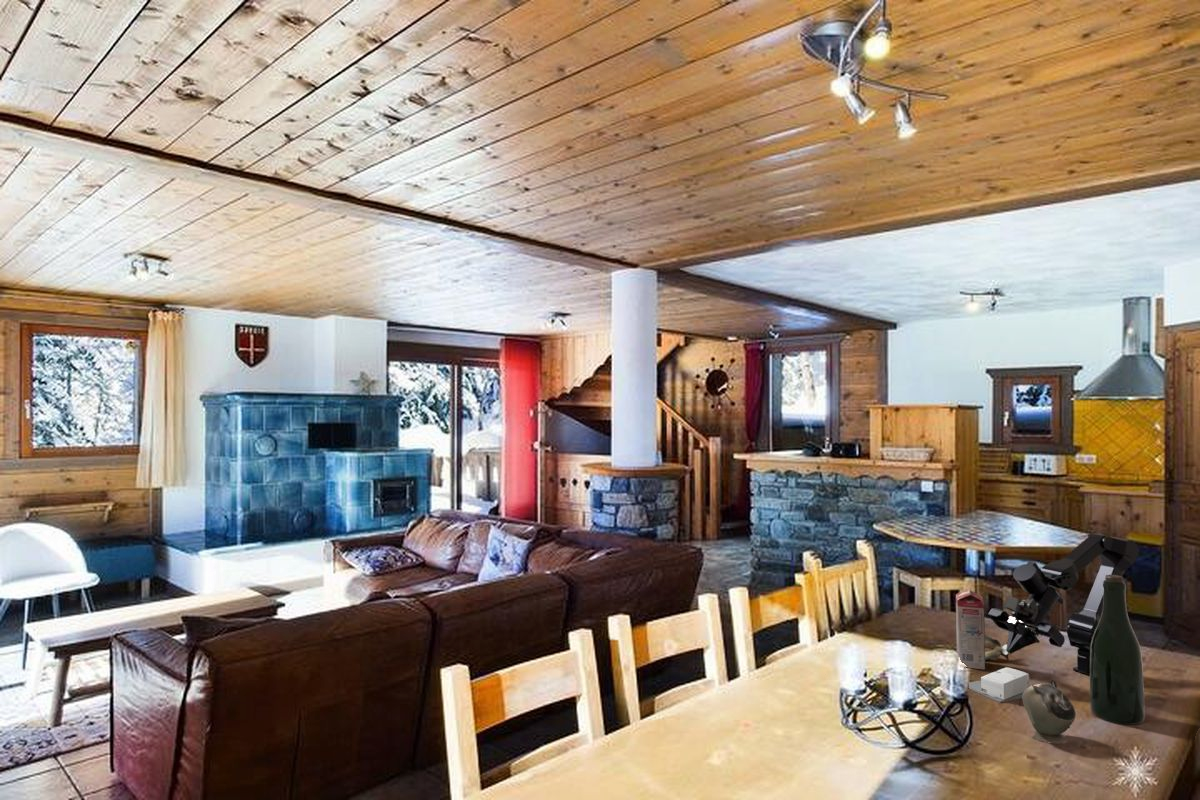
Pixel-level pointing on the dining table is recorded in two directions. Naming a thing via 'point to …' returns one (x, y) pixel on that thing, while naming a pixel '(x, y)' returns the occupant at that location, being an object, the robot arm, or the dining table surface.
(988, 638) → the eagle figurine
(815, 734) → the dining table surface
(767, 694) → the dining table surface
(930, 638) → the dining table surface
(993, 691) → the skincare box
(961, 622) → the juice carton
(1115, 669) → the beer bottle
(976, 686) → the mat
